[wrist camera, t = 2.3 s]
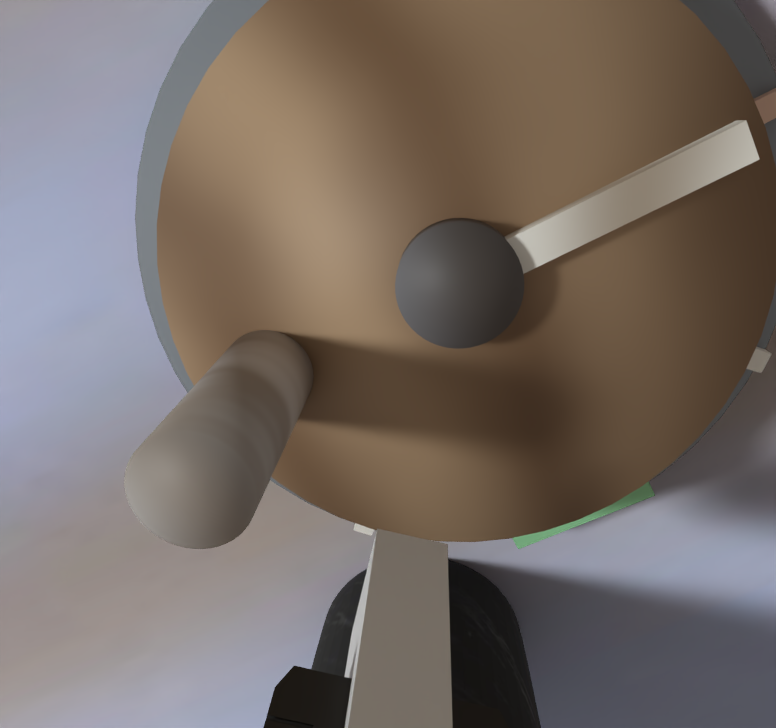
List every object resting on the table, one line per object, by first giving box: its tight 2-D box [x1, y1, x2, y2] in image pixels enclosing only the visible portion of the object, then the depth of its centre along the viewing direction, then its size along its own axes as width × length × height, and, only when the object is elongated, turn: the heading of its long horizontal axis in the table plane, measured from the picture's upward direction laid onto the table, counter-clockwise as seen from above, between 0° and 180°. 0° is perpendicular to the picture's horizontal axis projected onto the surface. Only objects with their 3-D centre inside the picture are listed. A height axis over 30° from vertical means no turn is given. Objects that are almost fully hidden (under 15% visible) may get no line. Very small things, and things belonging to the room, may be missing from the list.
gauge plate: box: [135, 0, 776, 549], centre depth 19 cm, size 18×18×2 cm
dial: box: [124, 0, 776, 549], centre depth 15 cm, size 15×15×8 cm
